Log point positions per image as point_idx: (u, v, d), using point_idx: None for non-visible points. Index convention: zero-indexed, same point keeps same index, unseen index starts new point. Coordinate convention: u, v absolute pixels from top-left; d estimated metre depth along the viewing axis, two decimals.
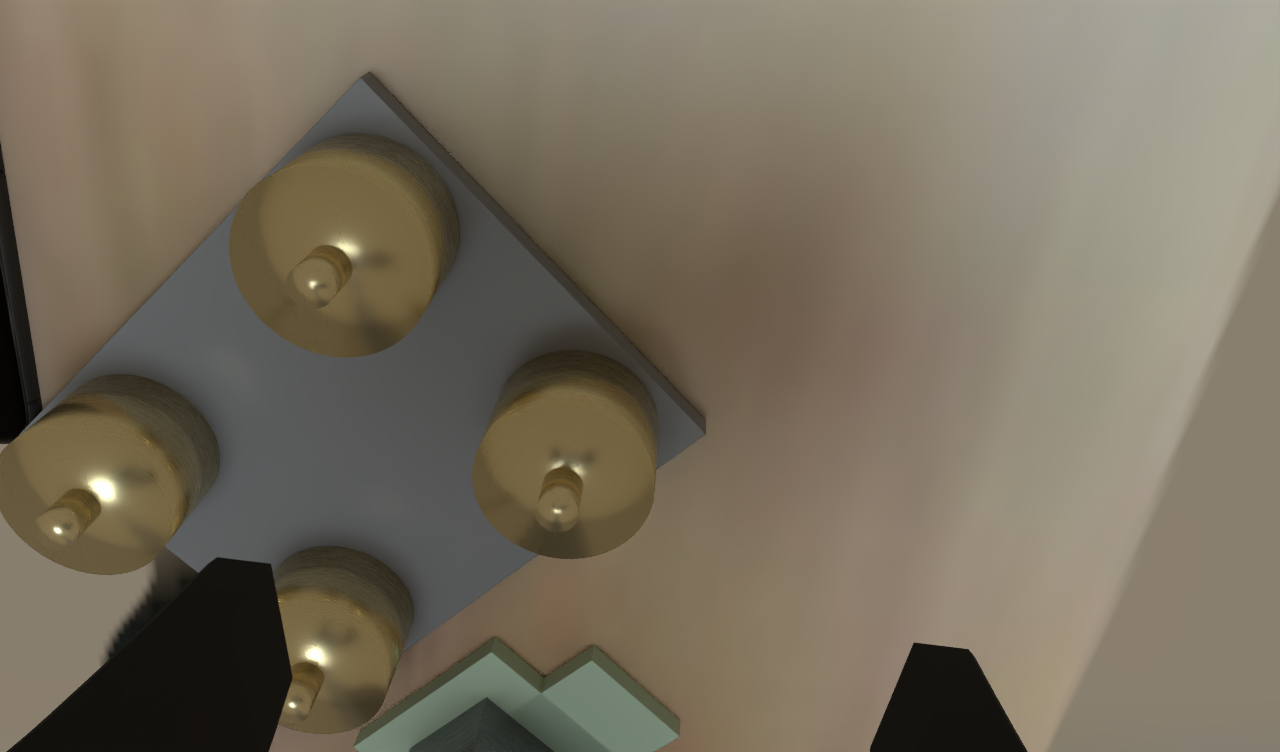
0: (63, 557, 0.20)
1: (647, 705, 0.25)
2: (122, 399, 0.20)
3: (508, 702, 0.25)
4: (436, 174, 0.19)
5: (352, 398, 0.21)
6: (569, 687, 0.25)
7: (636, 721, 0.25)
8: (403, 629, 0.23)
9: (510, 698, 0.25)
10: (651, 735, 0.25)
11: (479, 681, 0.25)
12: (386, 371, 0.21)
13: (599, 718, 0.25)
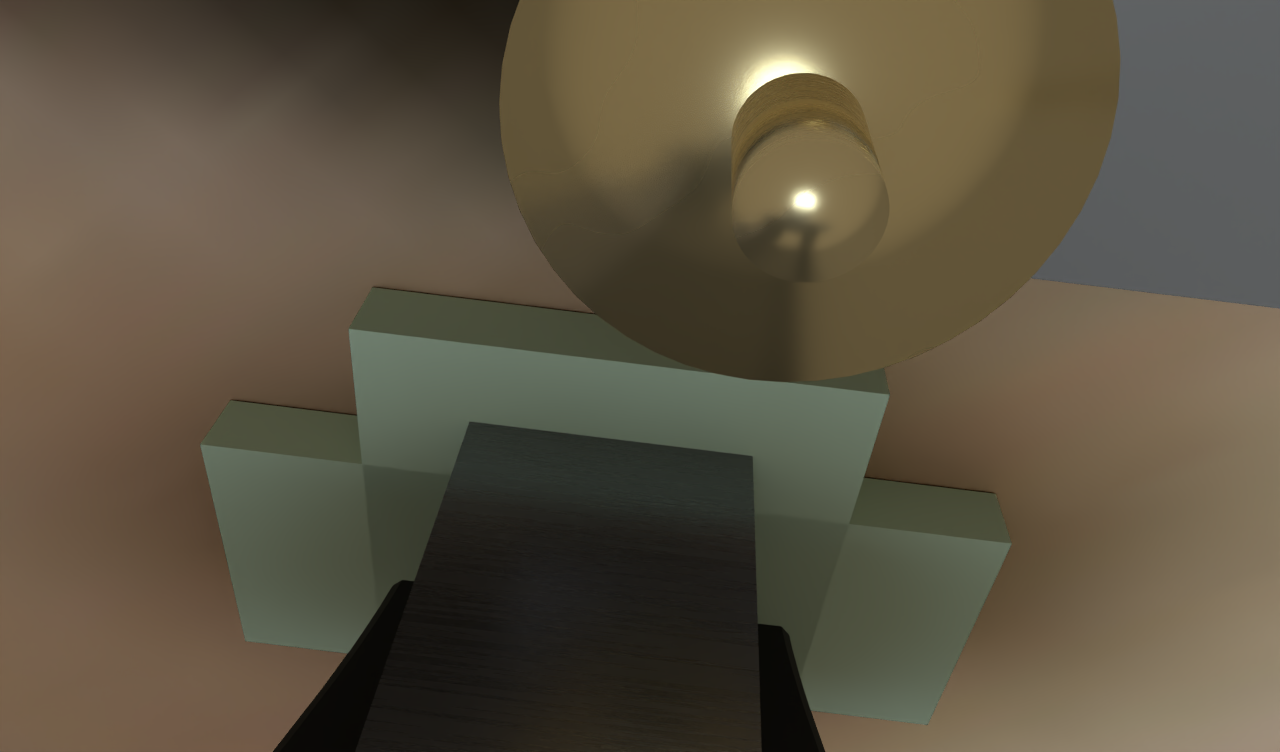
0: None
1: (953, 656, 0.12)
2: None
3: (775, 494, 0.10)
4: None
5: None
6: (906, 551, 0.11)
7: (909, 667, 0.12)
8: None
9: (786, 490, 0.10)
10: (896, 696, 0.12)
11: (784, 422, 0.10)
12: None
13: (867, 625, 0.12)
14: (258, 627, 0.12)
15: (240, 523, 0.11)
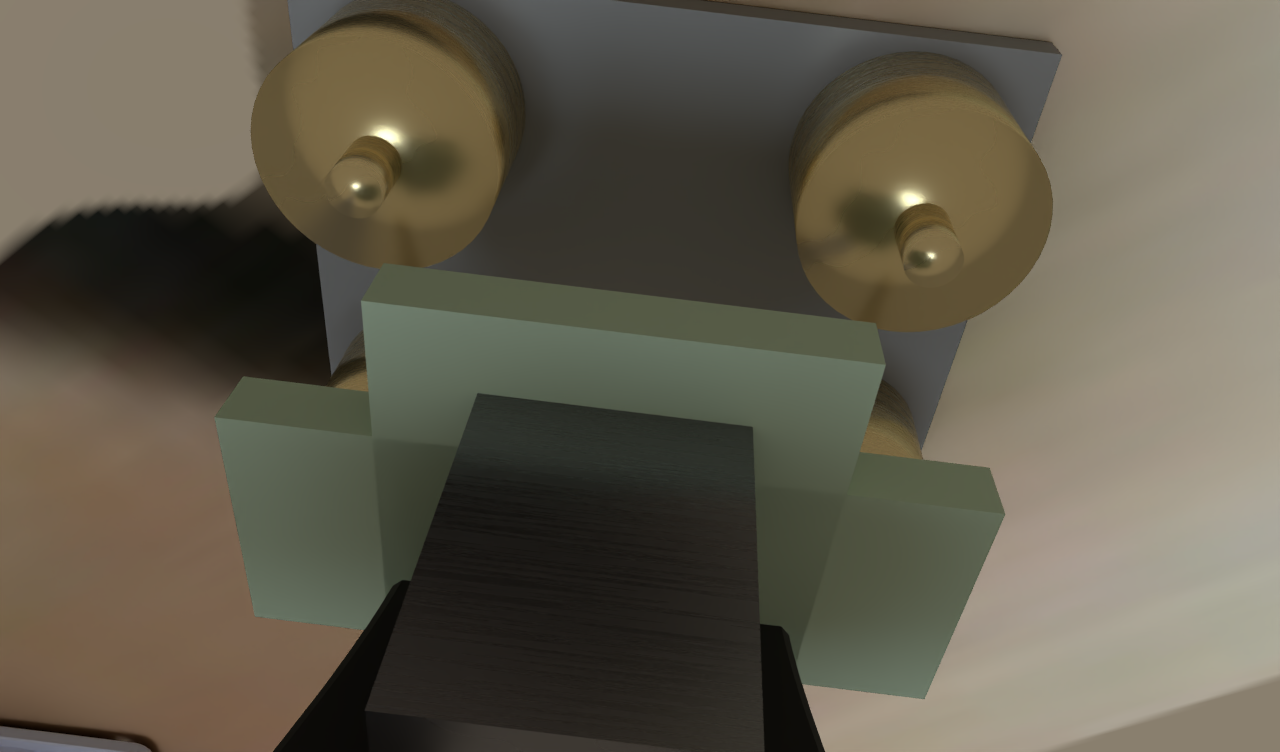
0: (277, 182, 0.14)
1: None
2: (499, 78, 0.15)
3: (774, 465, 0.11)
4: None
5: (680, 261, 0.17)
6: (902, 522, 0.11)
7: (906, 640, 0.12)
8: None
9: (786, 461, 0.11)
10: (893, 670, 0.13)
11: (783, 393, 0.10)
12: (739, 270, 0.17)
13: (865, 597, 0.12)
14: (268, 602, 0.13)
15: (252, 497, 0.12)
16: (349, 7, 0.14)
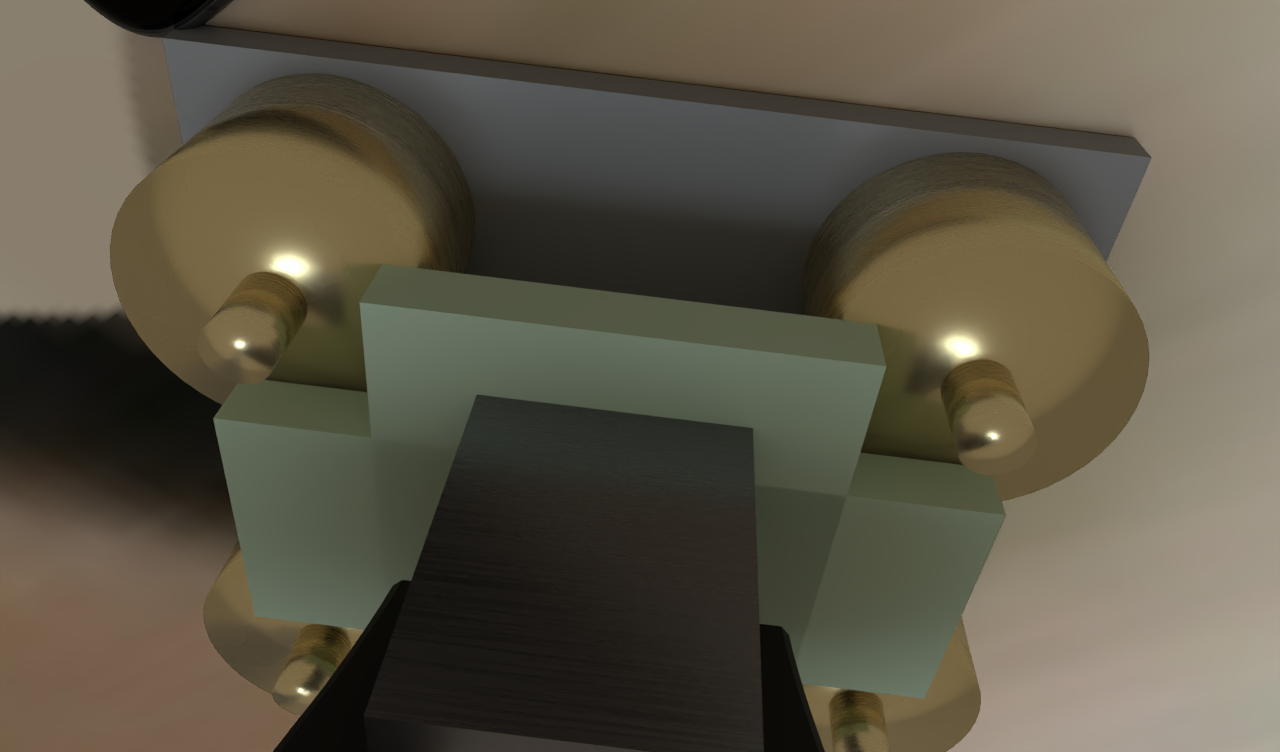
0: (150, 325, 0.11)
1: None
2: (435, 189, 0.11)
3: (774, 466, 0.11)
4: None
5: None
6: (902, 523, 0.11)
7: (905, 639, 0.12)
8: None
9: (786, 462, 0.11)
10: (893, 670, 0.13)
11: (783, 394, 0.10)
12: None
13: (865, 598, 0.12)
14: (267, 602, 0.13)
15: (251, 497, 0.12)
16: (244, 99, 0.11)
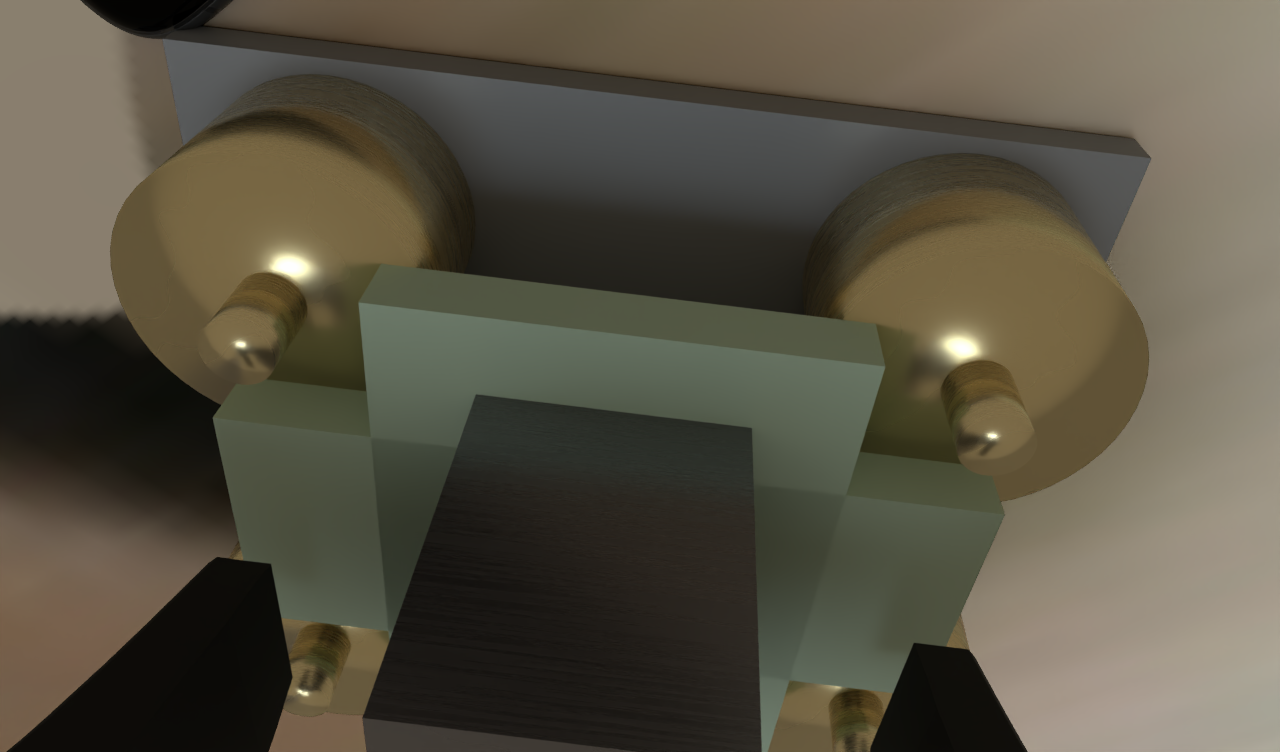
0: (150, 326, 0.11)
1: None
2: (435, 190, 0.11)
3: (773, 466, 0.11)
4: None
5: None
6: (901, 522, 0.11)
7: (905, 638, 0.12)
8: None
9: (785, 462, 0.11)
10: (893, 668, 0.13)
11: (783, 394, 0.10)
12: None
13: (864, 597, 0.12)
14: None
15: (251, 496, 0.12)
16: (244, 100, 0.11)
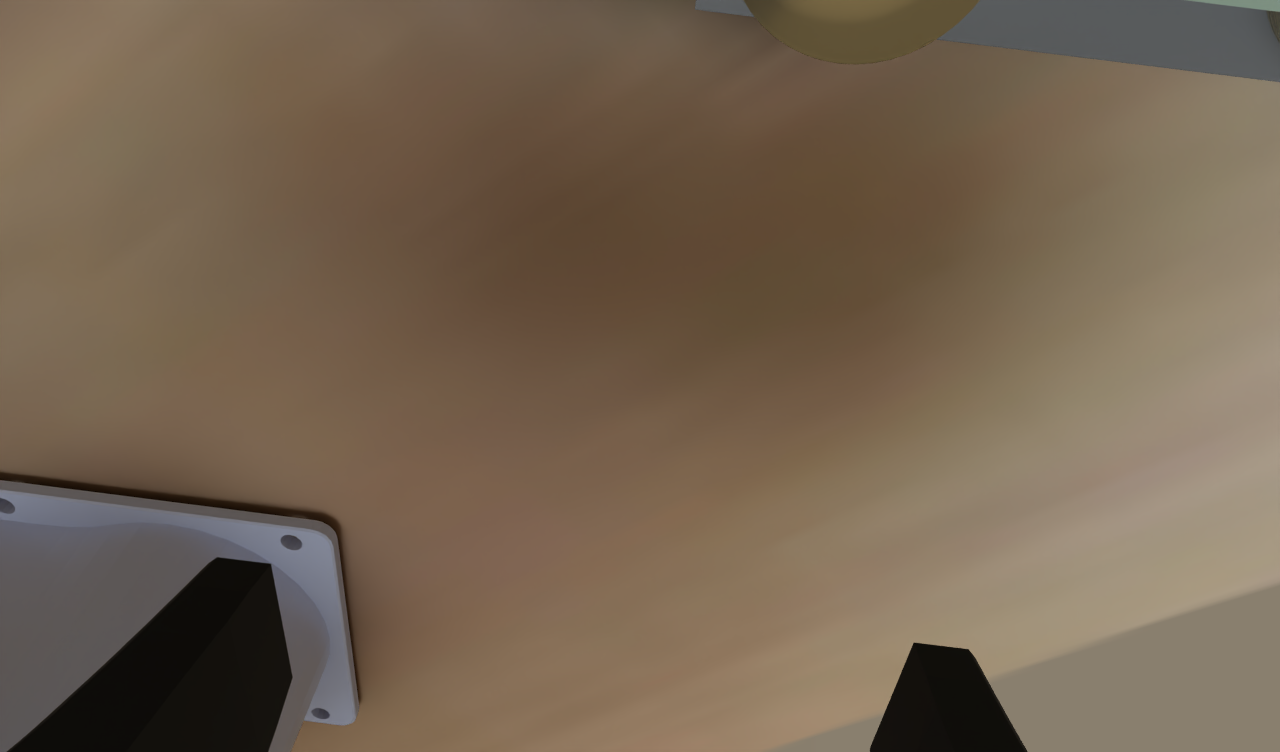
0: None
1: None
2: None
3: None
4: None
5: None
6: None
7: None
8: None
9: None
10: None
11: None
12: None
13: None
14: None
15: None
16: None
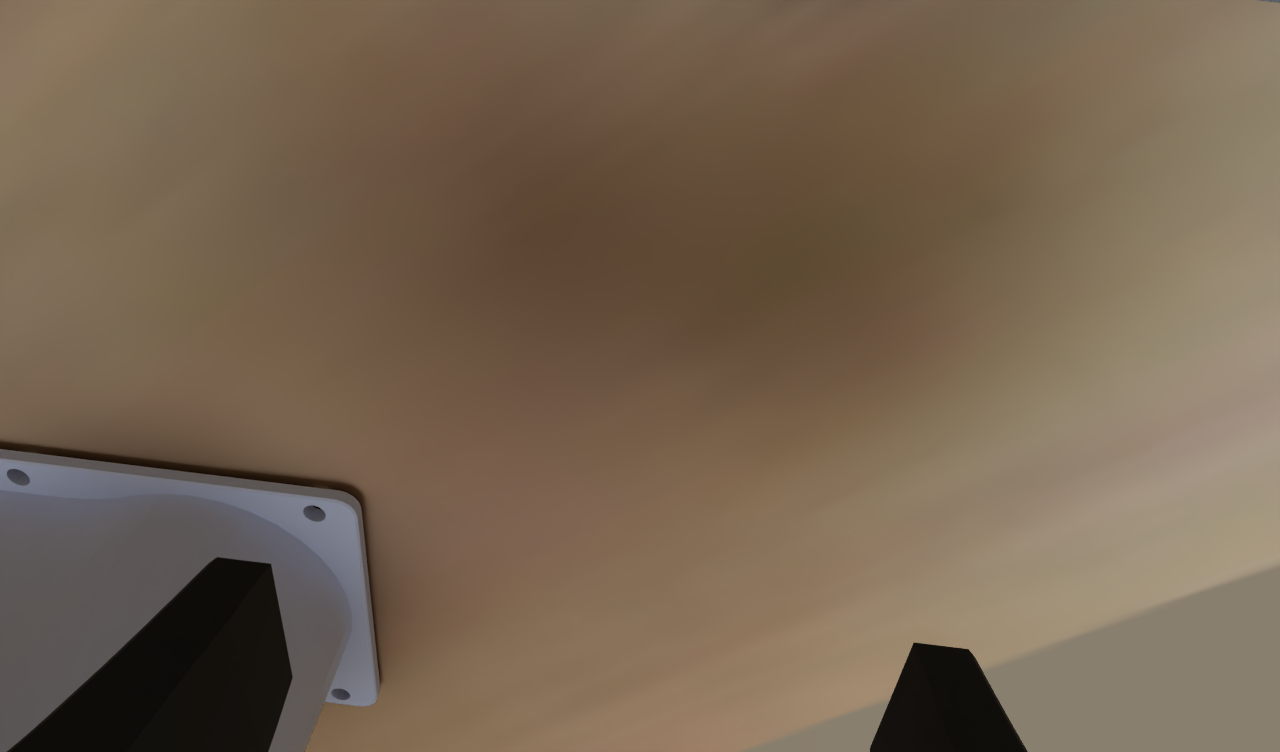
0: None
1: None
2: None
3: None
4: None
5: None
6: None
7: None
8: None
9: None
10: None
11: None
12: None
13: None
14: None
15: None
16: None
